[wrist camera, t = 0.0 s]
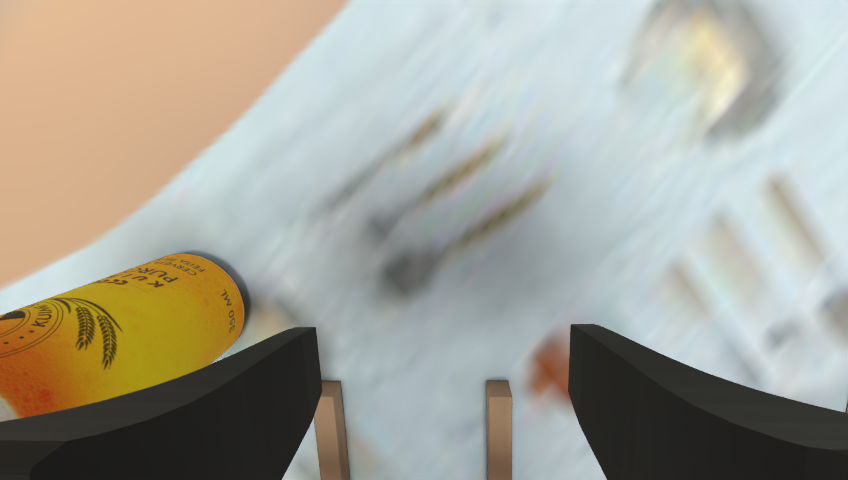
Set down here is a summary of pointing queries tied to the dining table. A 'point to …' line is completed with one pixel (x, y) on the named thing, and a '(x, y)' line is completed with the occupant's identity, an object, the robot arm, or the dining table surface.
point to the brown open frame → (335, 445)
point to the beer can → (117, 335)
